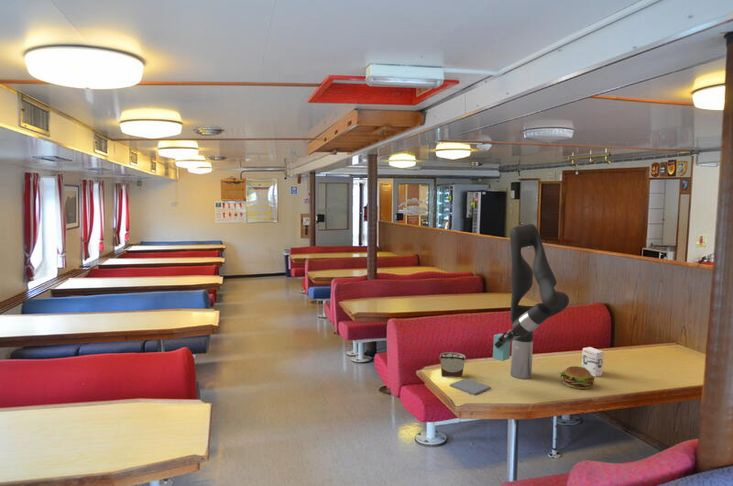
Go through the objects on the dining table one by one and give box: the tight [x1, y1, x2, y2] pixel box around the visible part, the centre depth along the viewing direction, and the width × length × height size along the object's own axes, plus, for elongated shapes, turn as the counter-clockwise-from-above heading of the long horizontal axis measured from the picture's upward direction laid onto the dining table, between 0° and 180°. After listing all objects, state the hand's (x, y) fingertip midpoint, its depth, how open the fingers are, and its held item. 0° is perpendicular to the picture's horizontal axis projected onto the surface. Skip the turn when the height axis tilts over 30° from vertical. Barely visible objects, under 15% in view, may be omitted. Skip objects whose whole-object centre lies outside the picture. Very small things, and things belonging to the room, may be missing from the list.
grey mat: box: [449, 377, 492, 396], centre depth 221 cm, size 12×13×1 cm
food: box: [559, 365, 596, 390], centre depth 228 cm, size 14×14×8 cm
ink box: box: [580, 346, 604, 378], centre depth 243 cm, size 9×5×12 cm, turn 26°
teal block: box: [492, 333, 511, 362], centre depth 216 cm, size 5×5×10 cm
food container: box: [438, 351, 467, 379], centre depth 236 cm, size 12×6×10 cm, turn 84°
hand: (499, 344), depth 217 cm, fingers closed on teal block, 5 cm apart
